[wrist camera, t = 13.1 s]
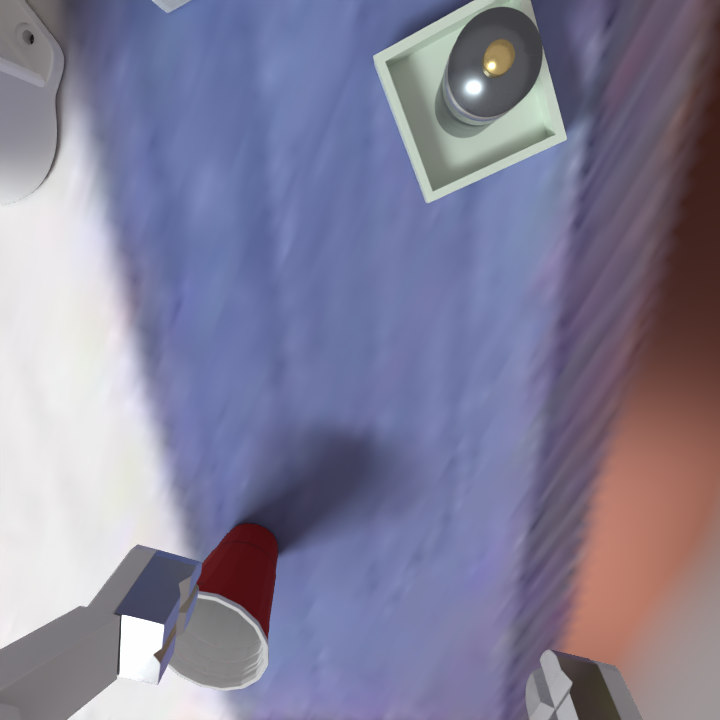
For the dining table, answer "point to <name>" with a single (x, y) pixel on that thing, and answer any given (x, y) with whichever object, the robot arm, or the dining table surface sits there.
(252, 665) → the plastic cup
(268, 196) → the dining table surface
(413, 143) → the tray
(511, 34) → the battery cell
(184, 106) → the dining table surface
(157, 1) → the product box
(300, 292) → the dining table surface
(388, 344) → the dining table surface
